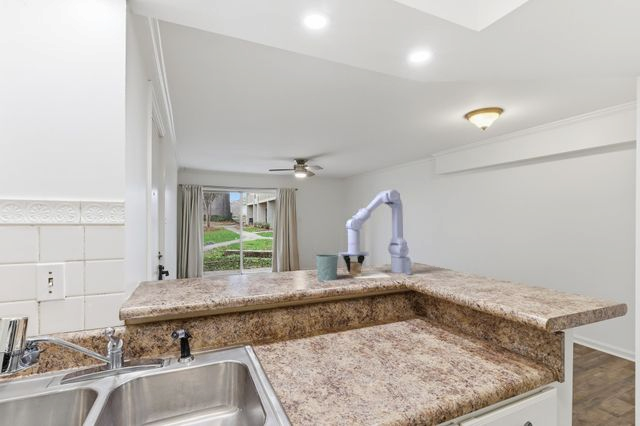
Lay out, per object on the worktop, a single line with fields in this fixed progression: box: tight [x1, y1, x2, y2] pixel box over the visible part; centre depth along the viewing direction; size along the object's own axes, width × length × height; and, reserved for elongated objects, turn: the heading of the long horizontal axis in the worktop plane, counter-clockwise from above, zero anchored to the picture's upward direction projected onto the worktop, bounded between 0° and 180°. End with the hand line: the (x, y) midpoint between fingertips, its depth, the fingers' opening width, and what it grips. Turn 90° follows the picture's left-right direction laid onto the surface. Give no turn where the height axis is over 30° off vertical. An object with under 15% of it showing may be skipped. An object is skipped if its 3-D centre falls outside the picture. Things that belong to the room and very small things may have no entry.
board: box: [353, 270, 392, 280], centre depth 146 cm, size 18×16×1 cm
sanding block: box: [346, 260, 362, 278], centre depth 146 cm, size 4×10×6 cm, turn 9°
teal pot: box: [315, 253, 339, 284], centre depth 137 cm, size 10×10×12 cm
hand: (354, 271), depth 145 cm, fingers open, 4 cm apart
